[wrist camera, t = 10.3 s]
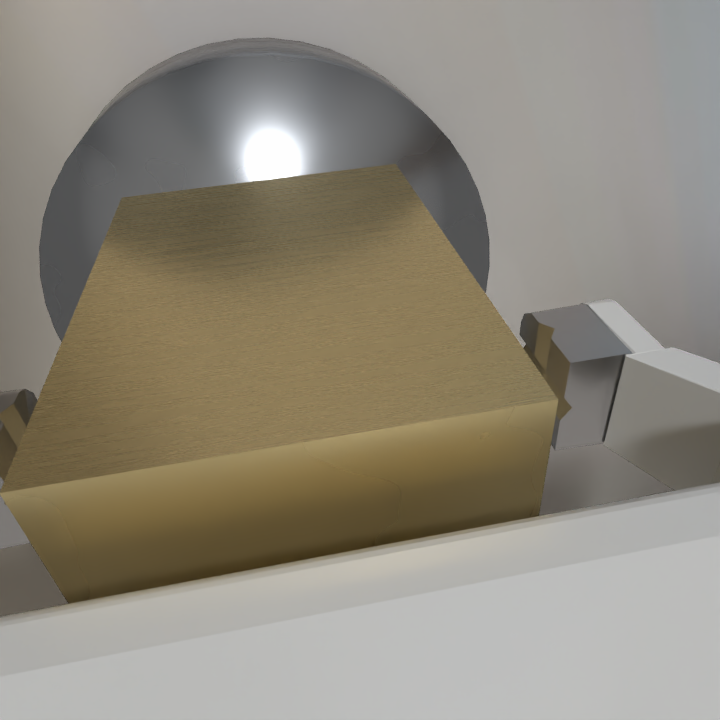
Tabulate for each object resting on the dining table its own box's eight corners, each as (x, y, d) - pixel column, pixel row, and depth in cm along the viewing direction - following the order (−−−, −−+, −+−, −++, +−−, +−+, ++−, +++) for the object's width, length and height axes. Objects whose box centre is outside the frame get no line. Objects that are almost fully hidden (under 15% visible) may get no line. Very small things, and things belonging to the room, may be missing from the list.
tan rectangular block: (395, 163, 11) (558, 399, 6) (402, 375, 14) (512, 667, 9) (121, 197, 11) (0, 492, 5) (187, 409, 14) (156, 743, 8)
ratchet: (-11, 63, 11) (-153, 141, 7) (468, 14, 12) (589, 58, 8) (248, 718, 27) (251, 859, 23) (445, 677, 27) (481, 804, 23)
